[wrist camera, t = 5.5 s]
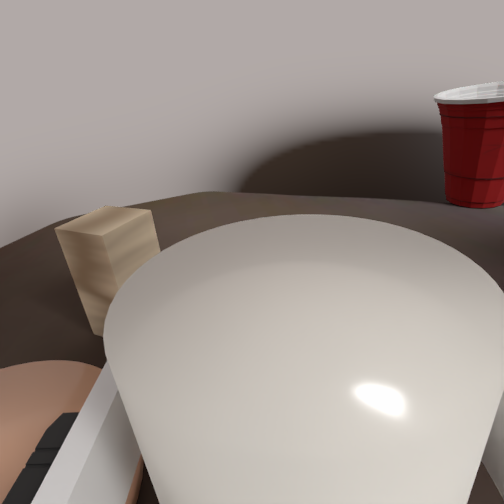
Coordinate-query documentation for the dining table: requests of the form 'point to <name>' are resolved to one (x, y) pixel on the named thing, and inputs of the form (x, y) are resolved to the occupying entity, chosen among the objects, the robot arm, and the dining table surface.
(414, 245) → the white pillar candle
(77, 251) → the beech block
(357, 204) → the dining table surface
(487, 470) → the robot arm
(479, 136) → the plastic cup
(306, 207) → the dining table surface
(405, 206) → the dining table surface
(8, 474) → the peach round disc
